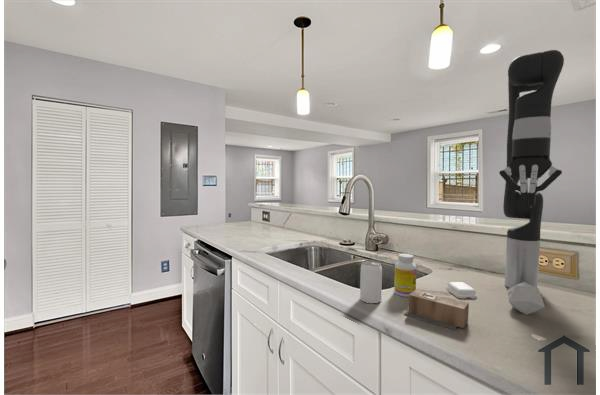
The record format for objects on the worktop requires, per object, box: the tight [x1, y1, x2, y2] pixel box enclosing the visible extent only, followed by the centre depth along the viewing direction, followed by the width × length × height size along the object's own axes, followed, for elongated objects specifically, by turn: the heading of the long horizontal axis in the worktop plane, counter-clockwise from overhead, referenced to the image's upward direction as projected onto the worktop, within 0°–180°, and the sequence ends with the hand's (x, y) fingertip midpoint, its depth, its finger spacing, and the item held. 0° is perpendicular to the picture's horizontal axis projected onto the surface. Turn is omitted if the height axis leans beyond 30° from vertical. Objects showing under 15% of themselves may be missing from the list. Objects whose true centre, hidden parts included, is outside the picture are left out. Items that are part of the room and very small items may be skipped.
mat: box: [403, 310, 458, 331], centre depth 86 cm, size 11×13×1 cm
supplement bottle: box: [393, 253, 417, 298], centre depth 101 cm, size 7×7×13 cm
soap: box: [445, 281, 478, 299], centre depth 102 cm, size 9×7×3 cm
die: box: [506, 282, 546, 316], centre depth 88 cm, size 8×9×10 cm
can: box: [359, 259, 383, 304], centre depth 96 cm, size 6×6×12 cm
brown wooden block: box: [407, 289, 470, 329], centre depth 84 cm, size 5×5×14 cm
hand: (527, 207), depth 77 cm, fingers closed
